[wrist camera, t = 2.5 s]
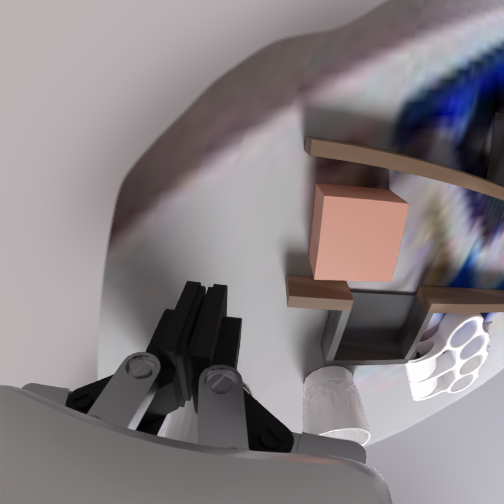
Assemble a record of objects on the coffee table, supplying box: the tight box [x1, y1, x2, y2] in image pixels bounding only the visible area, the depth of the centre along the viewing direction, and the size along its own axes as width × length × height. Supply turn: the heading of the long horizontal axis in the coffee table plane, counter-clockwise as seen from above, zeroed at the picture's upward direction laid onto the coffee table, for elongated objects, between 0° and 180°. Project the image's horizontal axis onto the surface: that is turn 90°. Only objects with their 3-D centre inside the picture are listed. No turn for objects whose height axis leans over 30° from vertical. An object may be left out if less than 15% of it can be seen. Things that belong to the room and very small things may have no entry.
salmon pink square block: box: [308, 183, 409, 281], centre depth 24 cm, size 7×7×4 cm
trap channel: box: [286, 112, 504, 365], centre depth 22 cm, size 30×42×6 cm
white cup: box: [303, 366, 371, 446], centre depth 31 cm, size 8×8×10 cm
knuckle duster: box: [405, 313, 492, 401], centre depth 31 cm, size 3×18×15 cm
